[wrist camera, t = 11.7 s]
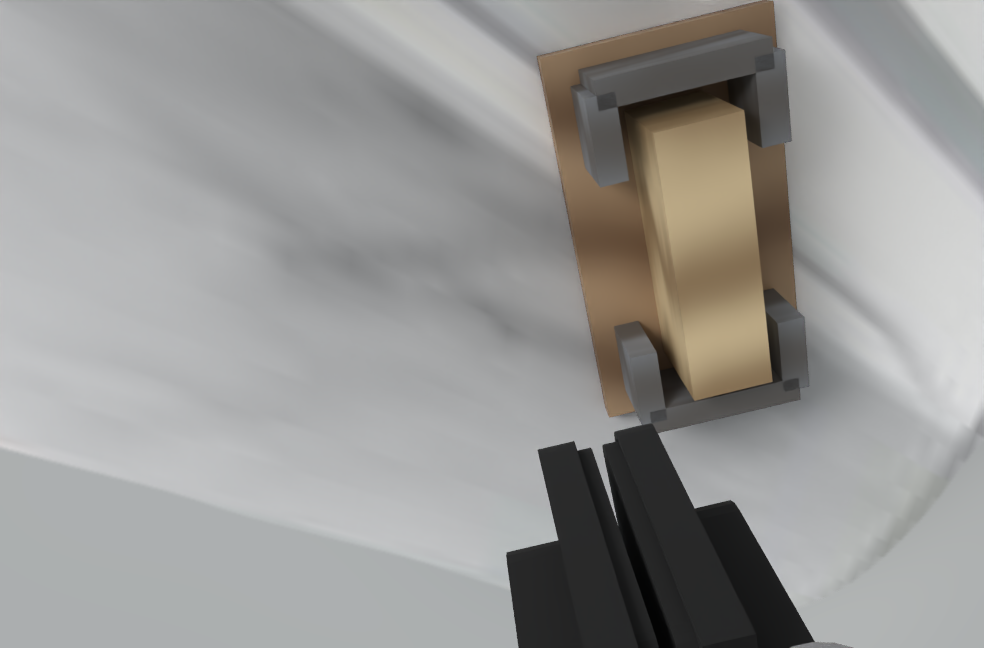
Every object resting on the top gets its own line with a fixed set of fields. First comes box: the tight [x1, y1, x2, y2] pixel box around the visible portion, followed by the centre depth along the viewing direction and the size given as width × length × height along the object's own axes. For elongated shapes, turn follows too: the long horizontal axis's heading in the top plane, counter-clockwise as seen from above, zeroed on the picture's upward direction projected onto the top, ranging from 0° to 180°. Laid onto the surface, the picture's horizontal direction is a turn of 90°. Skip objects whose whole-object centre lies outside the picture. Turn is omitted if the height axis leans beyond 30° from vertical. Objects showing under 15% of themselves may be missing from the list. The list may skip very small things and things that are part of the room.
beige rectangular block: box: [624, 91, 773, 401], centre depth 35 cm, size 12×4×5 cm, turn 13°
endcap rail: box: [537, 0, 809, 433], centre depth 37 cm, size 18×10×4 cm, turn 13°
